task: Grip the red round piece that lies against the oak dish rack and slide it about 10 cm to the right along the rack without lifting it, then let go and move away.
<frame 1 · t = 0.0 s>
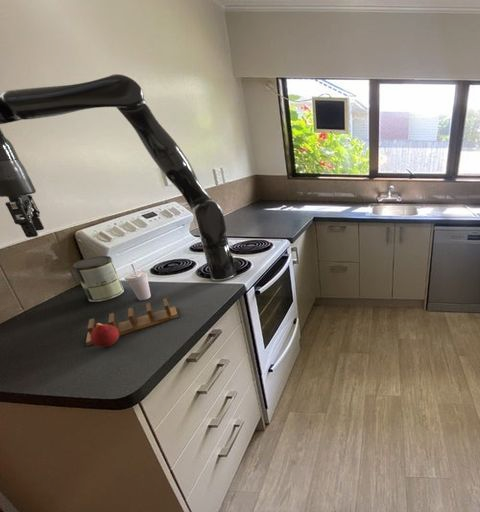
hand: (36, 233, 85), 29 cm above the countertop, tool pointing down, fingers open, 8 cm apart
red round piece: (110, 346, 83), on the countertop
smoothie: (144, 298, 107), on the countertop
dish rack: (135, 325, 91), on the countertop
coffee can: (107, 295, 109), on the countertop
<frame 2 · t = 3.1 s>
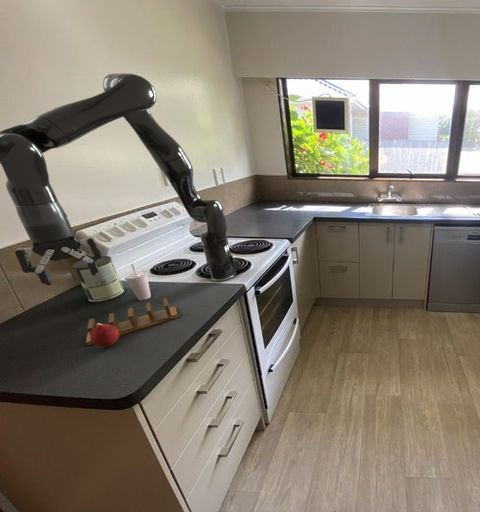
hand: (73, 279, 77), 20 cm above the countertop, tool pointing down, fingers open, 8 cm apart
nothing on the countertop moved.
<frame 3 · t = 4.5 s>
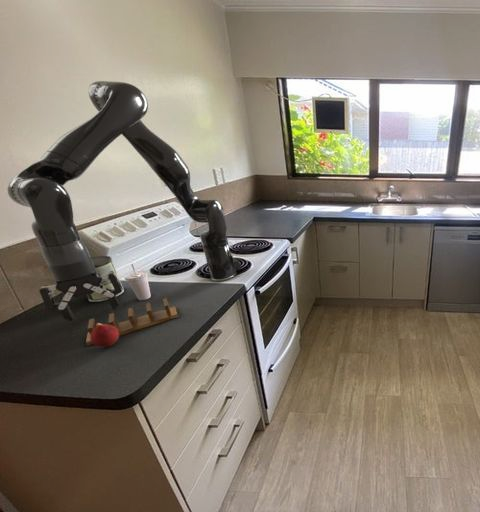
hand: (94, 313, 78), 11 cm above the countertop, tool pointing down, fingers open, 8 cm apart
nothing on the countertop moved.
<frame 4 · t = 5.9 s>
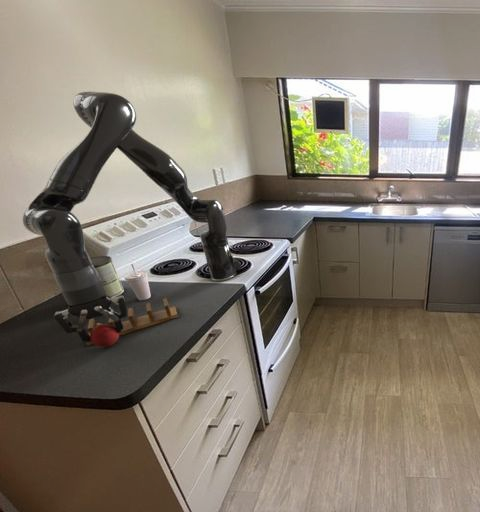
hand: (104, 335, 81), 4 cm above the countertop, tool pointing down, fingers closed on red round piece, 6 cm apart
red round piece: (110, 346, 83), on the countertop, touching gripper
everything else where it was.
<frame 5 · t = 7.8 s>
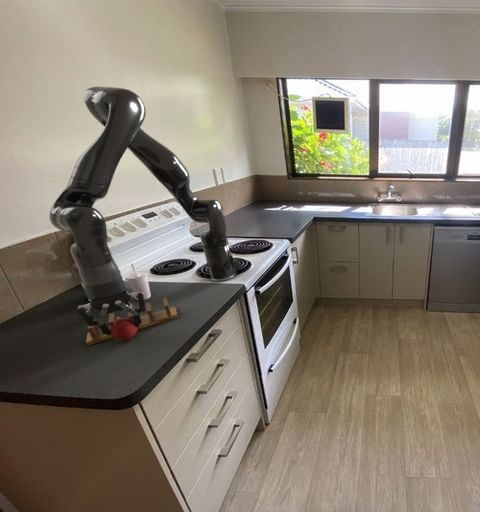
hand: (124, 329, 84), 4 cm above the countertop, tool pointing down, fingers closed on red round piece, 6 cm apart
red round piece: (128, 340, 85), on the countertop, touching gripper
everything else where it was.
when the fingers open (4 cm above the countertop, at t = 9.7 s): red round piece stays where it is, on the countertop.
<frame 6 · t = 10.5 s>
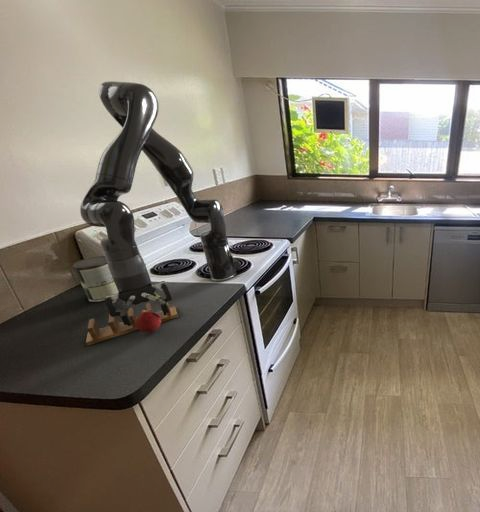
hand: (148, 319, 87), 5 cm above the countertop, tool pointing down, fingers open, 8 cm apart
red round piece: (153, 332, 88), on the countertop
everything else where it was.
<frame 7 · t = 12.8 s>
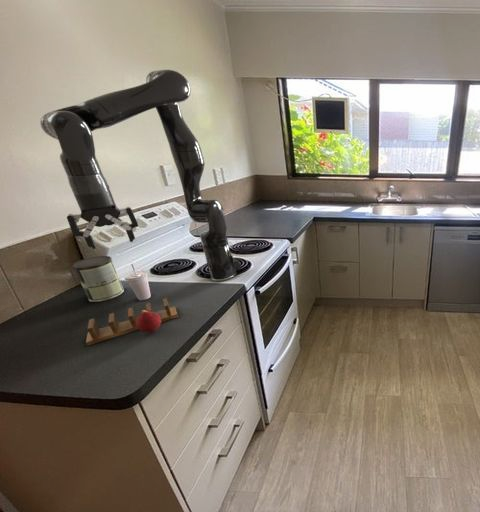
hand: (113, 244, 87), 26 cm above the countertop, tool pointing down, fingers open, 8 cm apart
nothing on the countertop moved.
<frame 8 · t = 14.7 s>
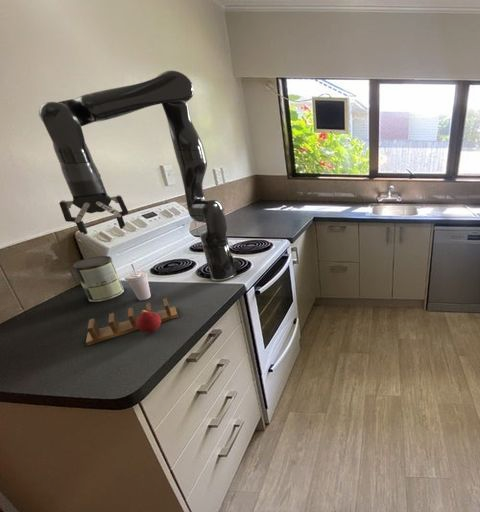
hand: (104, 230, 91), 28 cm above the countertop, tool pointing down, fingers open, 8 cm apart
nothing on the countertop moved.
at the end: red round piece inside the target area (0.4 cm from its centre), on the countertop; the gripper is holding nothing; coffee can moved 0.2 cm from its start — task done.
